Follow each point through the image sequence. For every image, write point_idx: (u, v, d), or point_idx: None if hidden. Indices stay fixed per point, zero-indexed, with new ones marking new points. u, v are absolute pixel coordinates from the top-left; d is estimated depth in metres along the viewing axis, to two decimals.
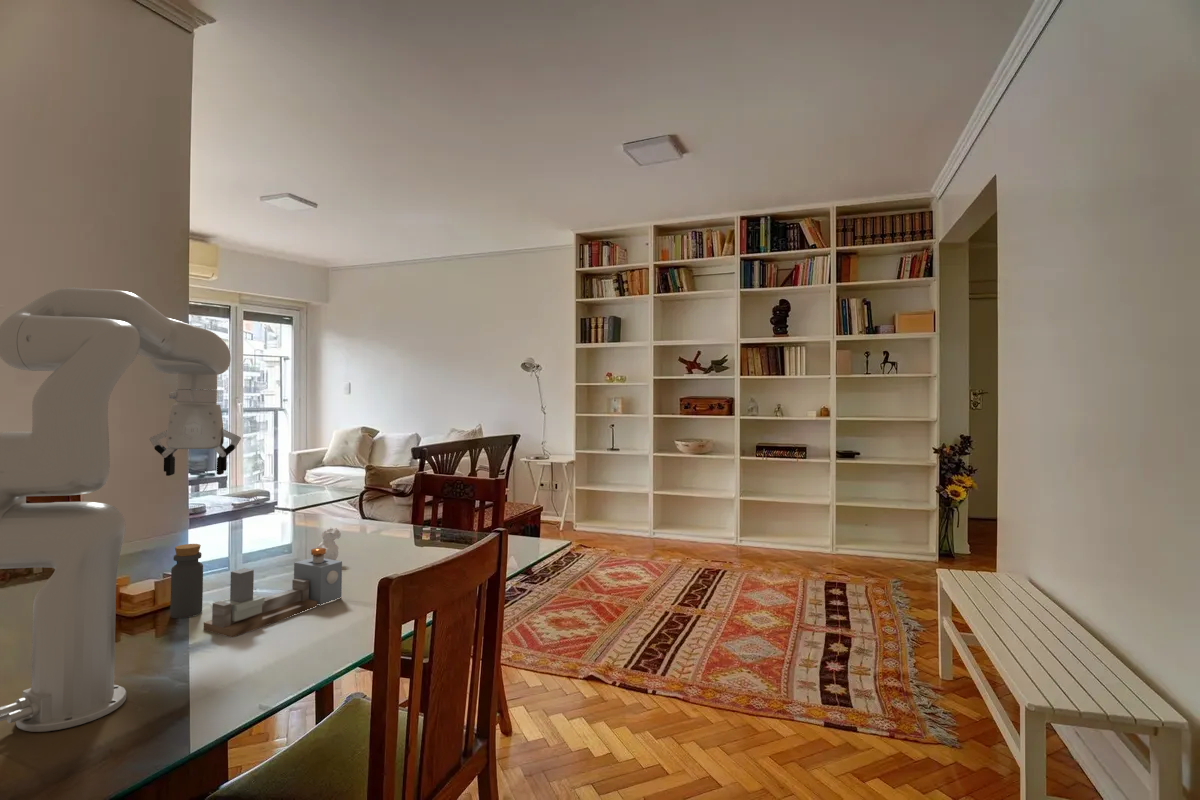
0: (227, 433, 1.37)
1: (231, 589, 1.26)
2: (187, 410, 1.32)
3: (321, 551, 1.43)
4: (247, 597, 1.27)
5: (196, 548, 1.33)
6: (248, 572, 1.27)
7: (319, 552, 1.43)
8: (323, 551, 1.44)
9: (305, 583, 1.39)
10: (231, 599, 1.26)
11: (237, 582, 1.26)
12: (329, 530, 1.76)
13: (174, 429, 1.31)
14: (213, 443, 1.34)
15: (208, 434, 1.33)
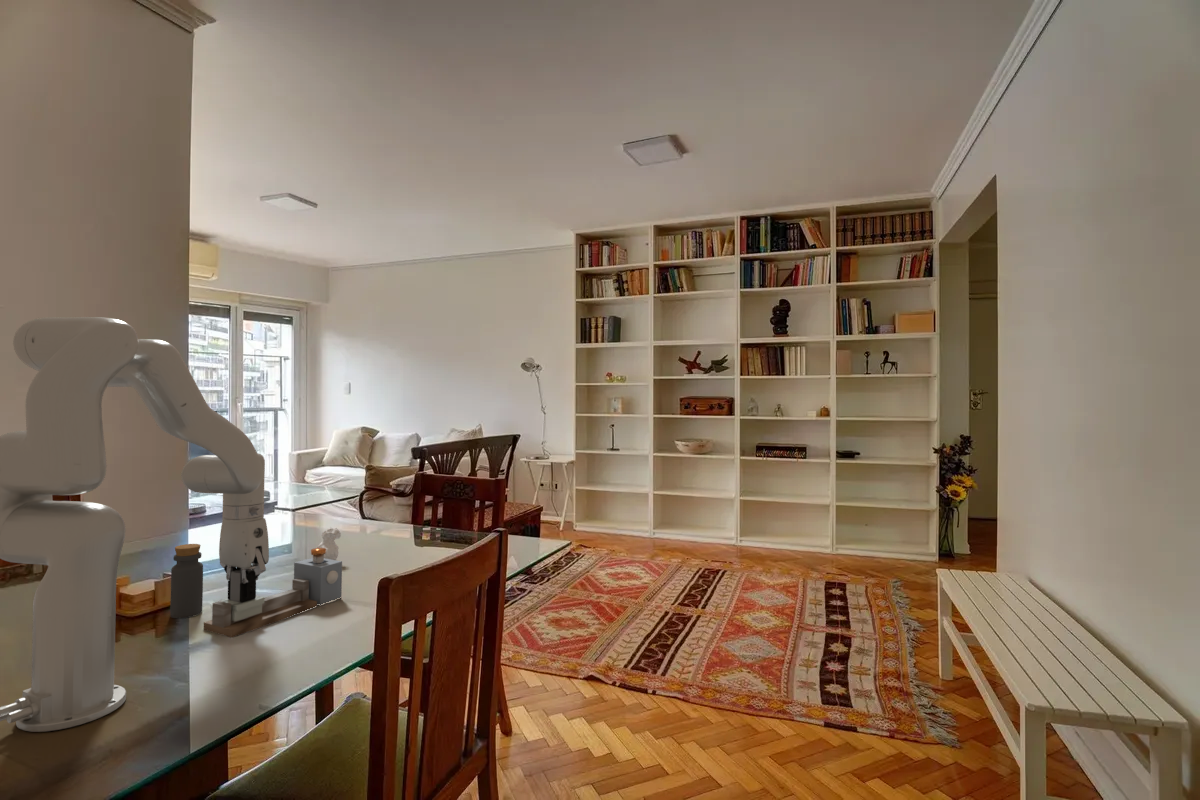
0: None
1: (231, 589, 1.26)
2: None
3: (321, 551, 1.43)
4: None
5: (196, 548, 1.33)
6: (248, 572, 1.27)
7: (319, 552, 1.43)
8: (323, 551, 1.44)
9: (305, 583, 1.39)
10: (231, 599, 1.26)
11: (237, 582, 1.26)
12: (329, 530, 1.76)
13: None
14: None
15: None
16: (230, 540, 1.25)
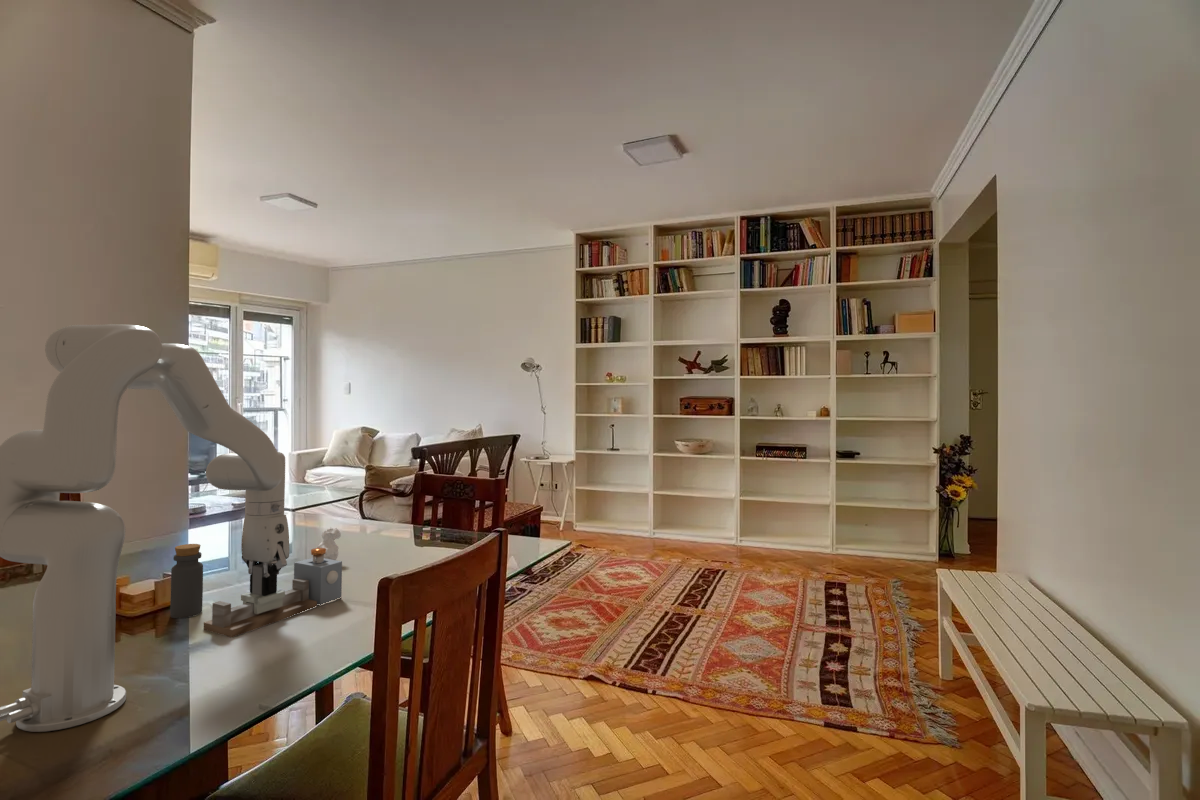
0: None
1: (253, 583, 1.31)
2: None
3: (321, 551, 1.43)
4: None
5: (196, 548, 1.33)
6: None
7: (319, 552, 1.43)
8: (323, 551, 1.44)
9: (305, 583, 1.39)
10: (253, 593, 1.31)
11: (259, 576, 1.30)
12: (329, 530, 1.76)
13: None
14: None
15: None
16: (252, 536, 1.30)
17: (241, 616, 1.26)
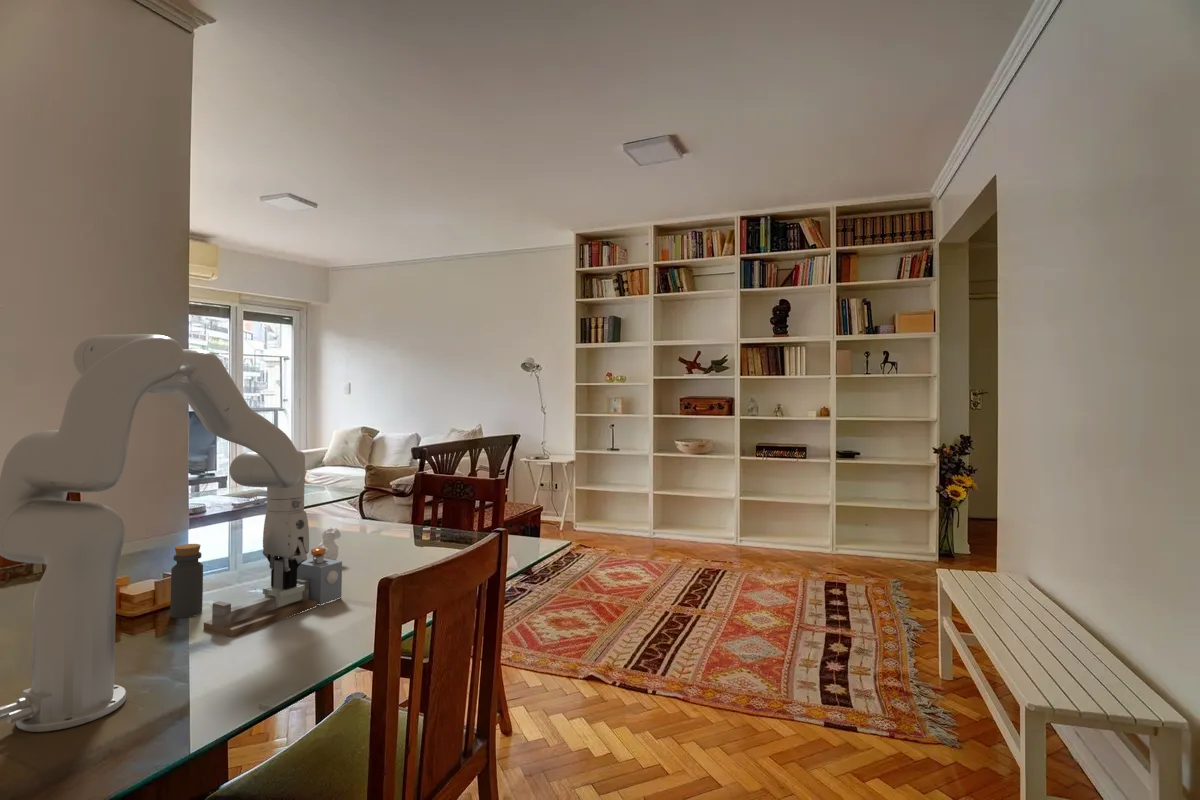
0: None
1: (274, 577, 1.35)
2: None
3: (321, 551, 1.43)
4: None
5: (196, 548, 1.33)
6: (290, 561, 1.36)
7: (319, 552, 1.43)
8: (323, 551, 1.44)
9: (305, 583, 1.39)
10: (274, 586, 1.35)
11: (280, 570, 1.35)
12: (329, 530, 1.76)
13: None
14: None
15: None
16: (274, 531, 1.34)
17: (241, 616, 1.26)
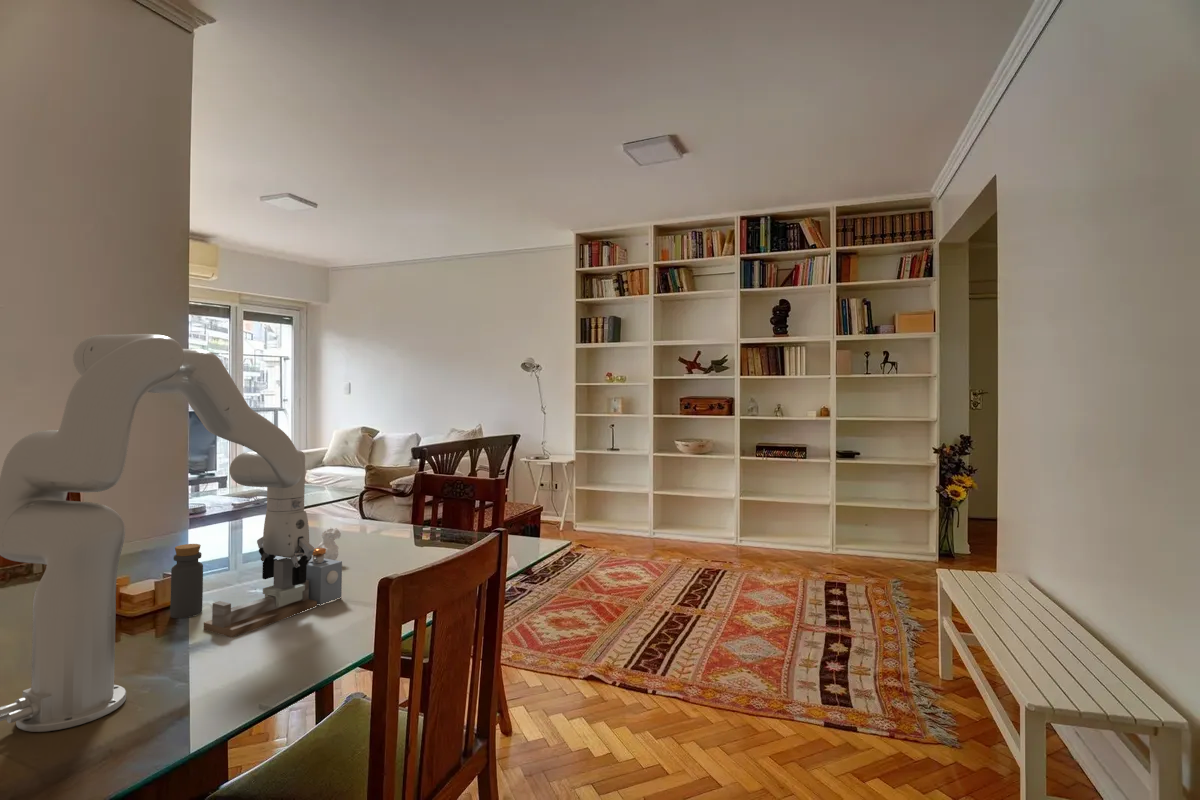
0: None
1: (274, 577, 1.35)
2: None
3: (321, 551, 1.43)
4: (289, 584, 1.36)
5: (196, 548, 1.33)
6: (290, 561, 1.36)
7: (319, 552, 1.43)
8: (323, 551, 1.44)
9: (305, 583, 1.39)
10: (274, 586, 1.35)
11: (280, 570, 1.35)
12: (329, 530, 1.76)
13: None
14: None
15: None
16: (274, 531, 1.34)
17: (241, 616, 1.26)
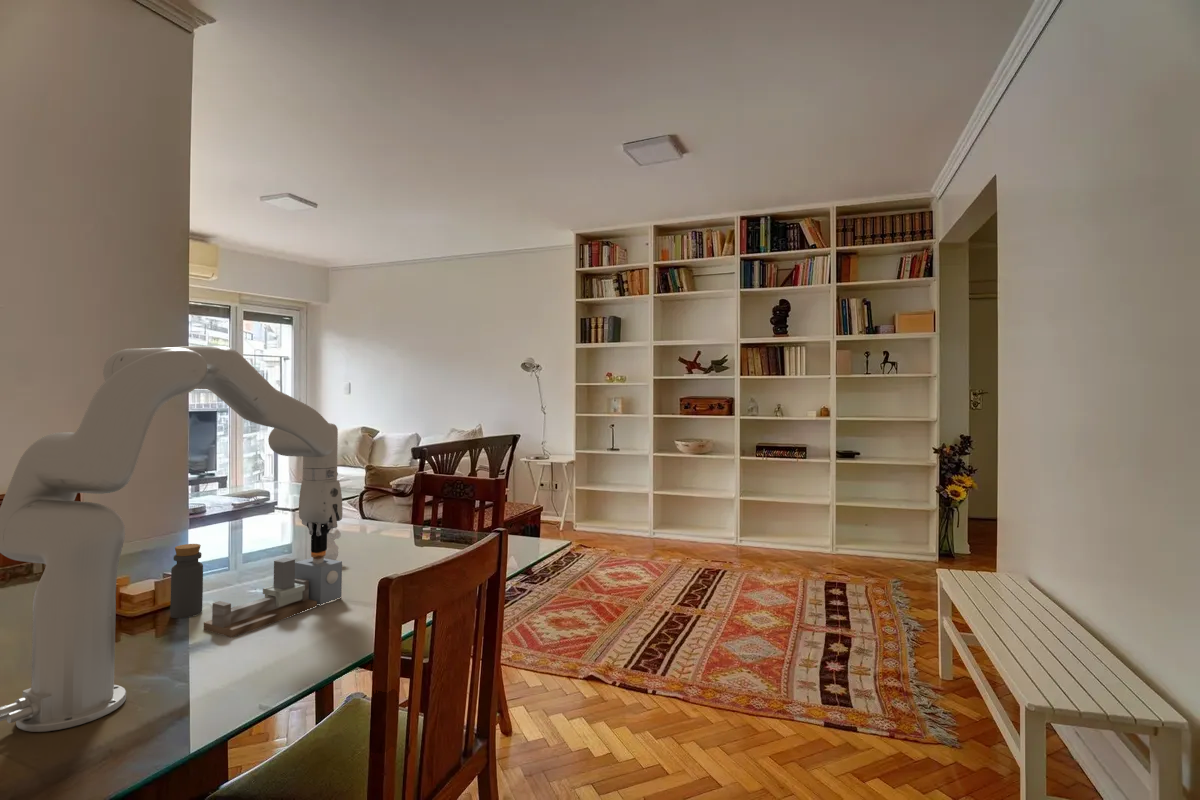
0: None
1: (274, 577, 1.35)
2: None
3: (321, 553, 1.43)
4: (289, 584, 1.36)
5: (196, 548, 1.33)
6: (290, 561, 1.36)
7: (319, 554, 1.43)
8: (323, 553, 1.44)
9: (305, 583, 1.39)
10: (274, 586, 1.35)
11: (280, 570, 1.35)
12: None
13: None
14: None
15: None
16: (309, 499, 1.43)
17: (241, 616, 1.26)
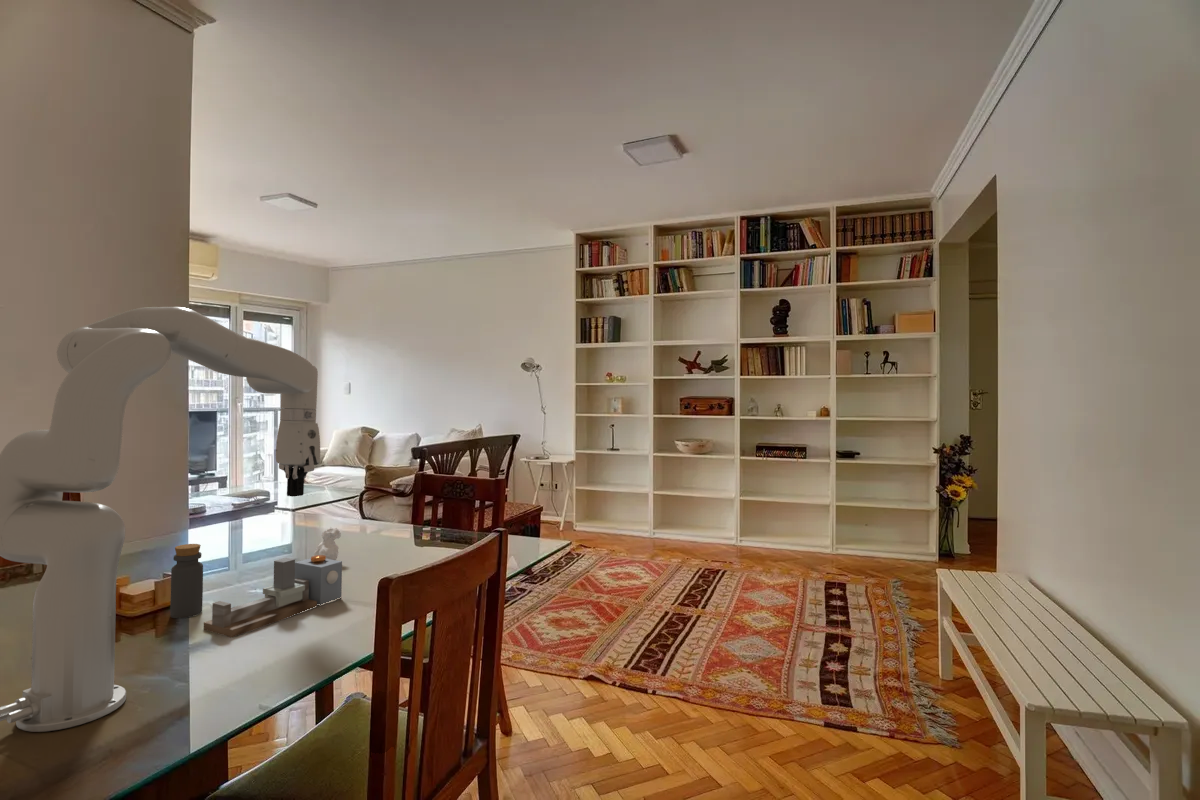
0: None
1: (274, 577, 1.35)
2: None
3: (321, 558, 1.43)
4: (289, 584, 1.36)
5: (196, 548, 1.33)
6: (290, 561, 1.36)
7: (319, 559, 1.43)
8: (323, 558, 1.44)
9: (305, 583, 1.39)
10: (274, 586, 1.35)
11: (280, 570, 1.35)
12: (329, 530, 1.76)
13: None
14: None
15: None
16: (286, 441, 1.39)
17: (241, 616, 1.26)
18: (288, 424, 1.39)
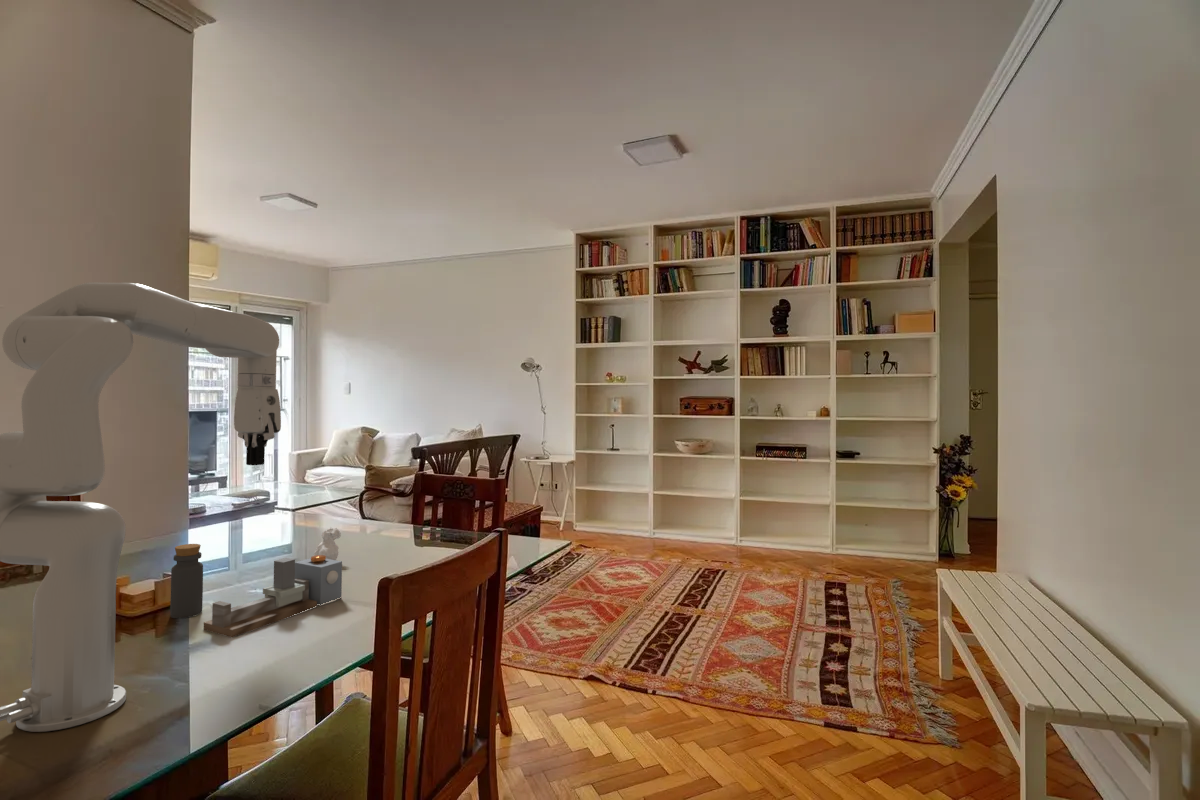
0: None
1: (274, 577, 1.35)
2: None
3: (321, 558, 1.43)
4: (289, 584, 1.36)
5: (196, 548, 1.33)
6: (290, 561, 1.36)
7: (319, 559, 1.43)
8: (323, 558, 1.44)
9: (305, 583, 1.39)
10: (274, 586, 1.35)
11: (280, 570, 1.35)
12: (329, 530, 1.76)
13: None
14: None
15: None
16: (244, 407, 1.33)
17: (241, 616, 1.26)
18: (246, 390, 1.33)
